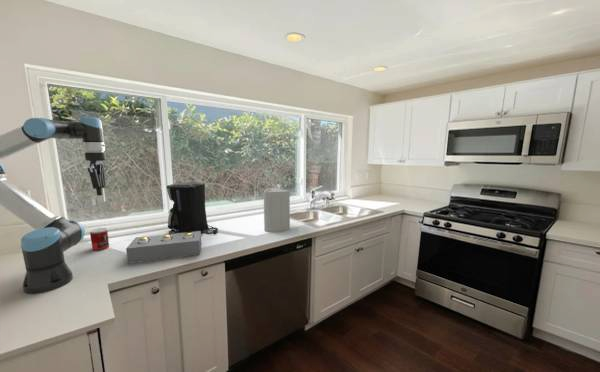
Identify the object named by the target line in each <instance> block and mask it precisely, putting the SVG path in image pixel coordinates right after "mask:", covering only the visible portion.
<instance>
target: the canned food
mask: <svg viewBox="0 0 600 372" xmlns="http://www.w3.org/2000/svg"><path fill="white" fill-rule="evenodd" d="M108 232H109V231H108V229H107V228H106V227H99V228H94V229H92V230H90V231H89V235H90V241H91V249H92V250H93V251H94V252H97V251H98V252H99V251H104V250H107V249H108V248H109V247H110V241H109V233H108Z"/></svg>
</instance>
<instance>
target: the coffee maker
mask: <svg viewBox="0 0 600 372" xmlns="http://www.w3.org/2000/svg"><path fill="white" fill-rule="evenodd" d="M166 192H167V195H168V198H169V200H170V201H172V203H173V204H172V207H171V208H170V209H169V212H168V219H167V228H168V229H169V231H168V234H175V233H185V232H195V231H201V235H202V234H204V233H206V234H209V235H210V234H213V235H216V234H217V233H218V231H219V230H218V227H213V226H211V225H209V224H208V220H207V218H208V217H207V210H206V184H205V183H204V182H191V181H190V182H180V183H173V184H167V185H166ZM210 230H212V231H210Z"/></svg>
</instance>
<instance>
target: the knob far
mask: <svg viewBox="0 0 600 372" xmlns="http://www.w3.org/2000/svg"><path fill="white" fill-rule="evenodd" d="M186 238H193V233H192V232H186V233H184V239H186Z"/></svg>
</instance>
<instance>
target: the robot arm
mask: <svg viewBox="0 0 600 372" xmlns="http://www.w3.org/2000/svg"><path fill="white" fill-rule="evenodd" d="M49 139H57V140H64V139H65V140H66V139H71V140H72V139H74V140H75V139H77V140H78V139H80V140H81V139H82V145H83V151H84V159H85V161H87V162H88V161H89V167H87V172H88V173H89V177H90V181H91V185H92V189H94V190H95V193H96V202H97V203H104V202H105V203H106V195H105V188H107V186H106V182H107V180H106V170H107V166H106V165H104V163H103V161H106V160H107V156H106V155H107V154H106V152H105V151H106V144H105V140H104V139H105V138H104V131H103V125H102V120H101V118H98V117H92V116H87V117H86V116H81V117H79V121H66V120H65V121H64V120H55V119H50V118H49V119H48V118H44V117H31V118H28V119H26V120H25V121H24V123H23V125H22V126H19V127H17V128H15V129H12V130H10V131H7V132H5V133H3V134H0V161H1V160H4V159H5V158H8V157H10V156H12V155H15V154H16V153H20V152H22V151H24V150H27V149H28V148H30V147H33V146H36V145H37V144H39V143H42V142H44V141H48V140H49ZM8 178H9V175H8V174H7V173H6V170H5V167H4V164H2V163H1V162H0V206H1V207H2V208H5V209H6V210H7V211H9V212H10V213H11V214H13V215H14V216H16V217H17V218H19V219H20V220H22V221H23V222H24V223H26V224H28V225H29V226H30V227H31V228H32V229H33V230H32V231H29V232H27V233H25V234H24V235H23V236H22V237H21V238H20V249H21V252H22V256H23V262H24V265H25V274H24V275H25V276H24V280H23V283H22V291H23V292H24V293H25V294H32V295H33V294H40V293H44V292H49V291H53V290H55V289H57V288H61V287H63V286H65V285H66V284H68V283H70V282H71V281H72V280H73V278H74V276H73V272H72V270H71V269H70V267H69V266H68V264H67V263H66V260H65V255H64V252H66V251H68V250H69V249H70V248H73V247H74V246H76V245H78V244H79V243H80V242H81V241H82V240H83V239H84V237H85V232H86V230H85V227H84V226H83V224H81V223H80V222H79V221H76V220H68V219H67V218H66V217H65V216H61V215H59V216H58V215H55V214H54V213H52V211H50V210H48V209H47V208H45V207H44V206H43V205H41V204H40V203H39V202H37V201H36V200H35V199H34V198H33V197H31V196H29V195H28V194H27V193H25V192H24V191H22V190H21V189H20V188H19V187H17V186H16V185H14V184H13V183H12V182H10V181H9V180H8Z"/></svg>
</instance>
